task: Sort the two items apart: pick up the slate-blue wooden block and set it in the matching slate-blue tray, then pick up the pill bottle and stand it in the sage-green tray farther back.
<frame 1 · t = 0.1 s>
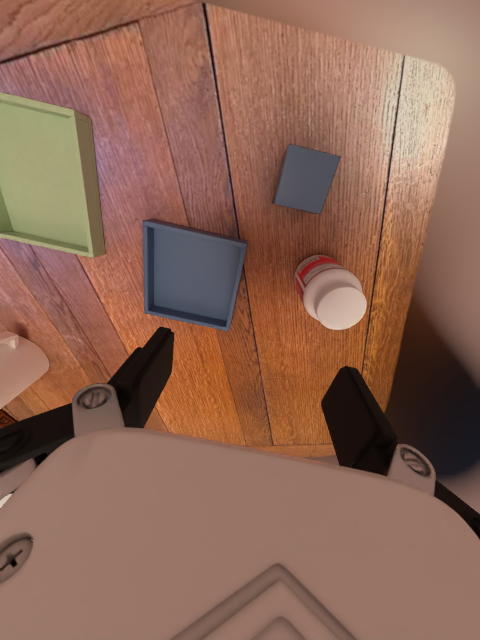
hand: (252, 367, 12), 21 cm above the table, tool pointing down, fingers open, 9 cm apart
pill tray: (48, 183, 27), on the table
block tray: (195, 276, 32), on the table
mug: (25, 351, 42), on the table
pill bottle: (315, 275, 31), on the table
block: (297, 184, 25), on the table
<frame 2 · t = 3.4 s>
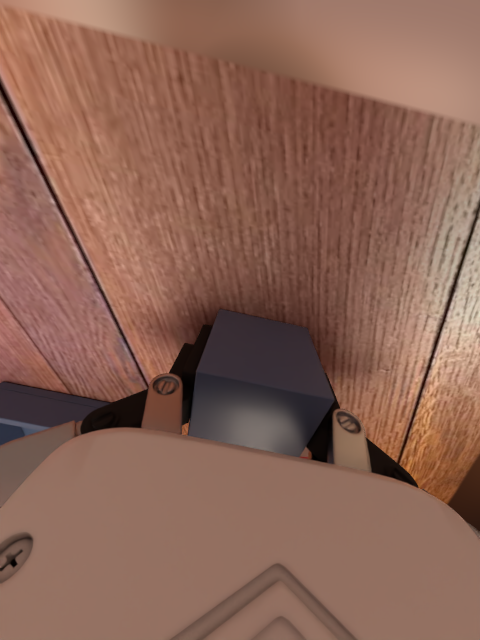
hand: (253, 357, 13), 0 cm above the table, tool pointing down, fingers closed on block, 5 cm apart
block tray: (100, 447, 20), on the table
block: (253, 353, 13), on the table, touching gripper
when the fingers open (1 cm above the table, at t = 10.0 s): block stays where it is, resting on block tray.
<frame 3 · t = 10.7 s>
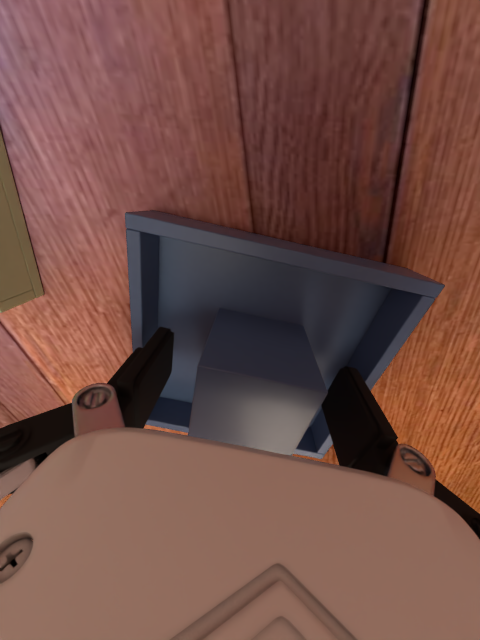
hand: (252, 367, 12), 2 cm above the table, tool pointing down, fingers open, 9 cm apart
block tray: (252, 344, 14), on the table
block: (251, 350, 13), point 1 cm above the table, touching block tray
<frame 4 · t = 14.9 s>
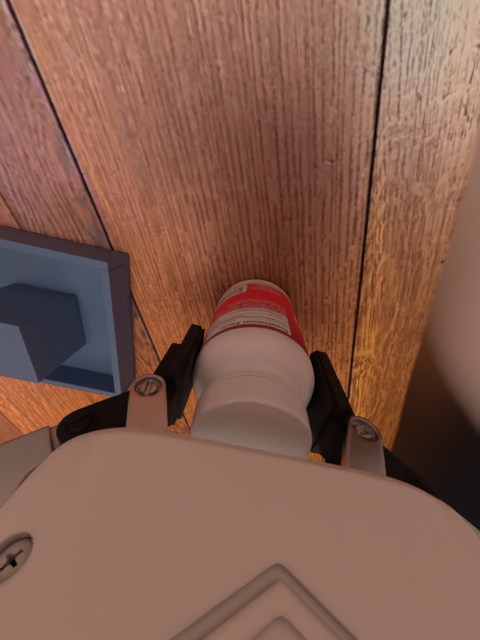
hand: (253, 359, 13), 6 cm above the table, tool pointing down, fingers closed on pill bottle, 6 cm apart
block tray: (59, 311, 19), on the table
pill bottle: (254, 311, 18), on the table, touching gripper
block: (53, 315, 19), point 1 cm above the table, touching block tray
when the fingers open (7 cm above the table, at t = 23.0 s): pill bottle stays where it is, resting on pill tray.
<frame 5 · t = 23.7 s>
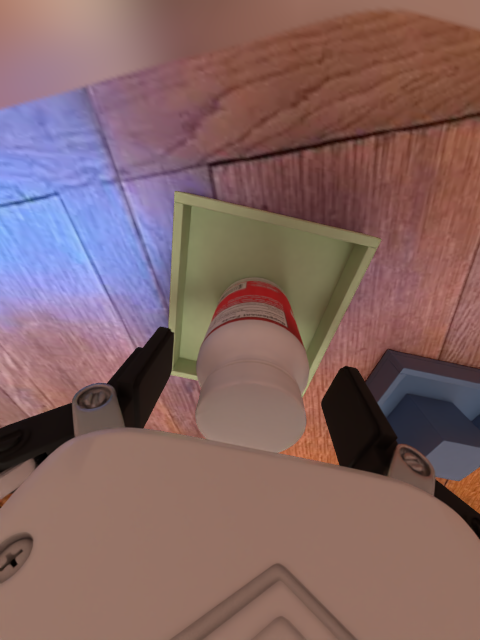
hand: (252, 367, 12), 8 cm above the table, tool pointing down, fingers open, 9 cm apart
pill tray: (252, 306, 19), on the table
block tray: (412, 408, 24), on the table
pill bottle: (253, 308, 19), resting on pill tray
block: (415, 413, 23), point 1 cm above the table, touching block tray
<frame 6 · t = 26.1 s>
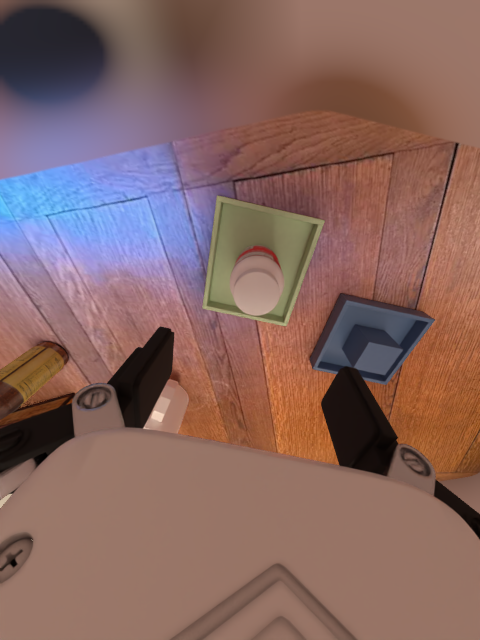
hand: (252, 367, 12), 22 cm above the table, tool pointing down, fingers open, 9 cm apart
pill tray: (256, 264, 31), on the table
sauce bottle: (56, 352, 43), on the table
block tray: (361, 337, 36), on the table
book: (80, 439, 58), on the table
mug: (168, 392, 46), on the table
pill bottle: (257, 265, 31), resting on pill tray
block: (362, 340, 35), point 1 cm above the table, touching block tray
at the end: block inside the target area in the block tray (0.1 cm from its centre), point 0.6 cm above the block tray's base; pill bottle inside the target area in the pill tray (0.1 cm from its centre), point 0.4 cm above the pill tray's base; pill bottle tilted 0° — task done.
